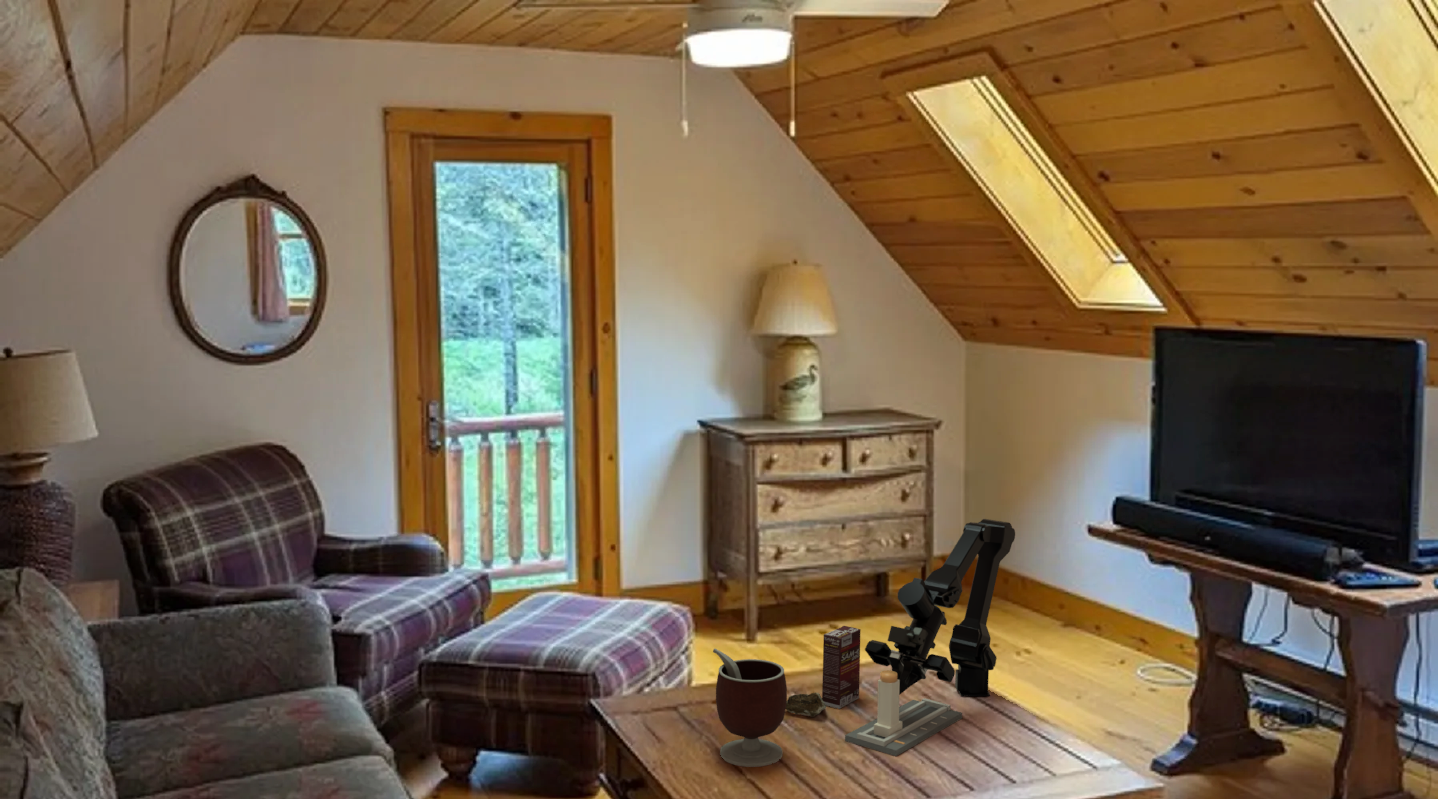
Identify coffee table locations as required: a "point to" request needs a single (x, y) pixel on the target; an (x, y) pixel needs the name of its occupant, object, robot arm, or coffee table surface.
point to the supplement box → (841, 666)
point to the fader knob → (888, 705)
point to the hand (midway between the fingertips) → (893, 696)
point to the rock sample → (805, 704)
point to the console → (907, 727)
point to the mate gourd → (750, 708)
